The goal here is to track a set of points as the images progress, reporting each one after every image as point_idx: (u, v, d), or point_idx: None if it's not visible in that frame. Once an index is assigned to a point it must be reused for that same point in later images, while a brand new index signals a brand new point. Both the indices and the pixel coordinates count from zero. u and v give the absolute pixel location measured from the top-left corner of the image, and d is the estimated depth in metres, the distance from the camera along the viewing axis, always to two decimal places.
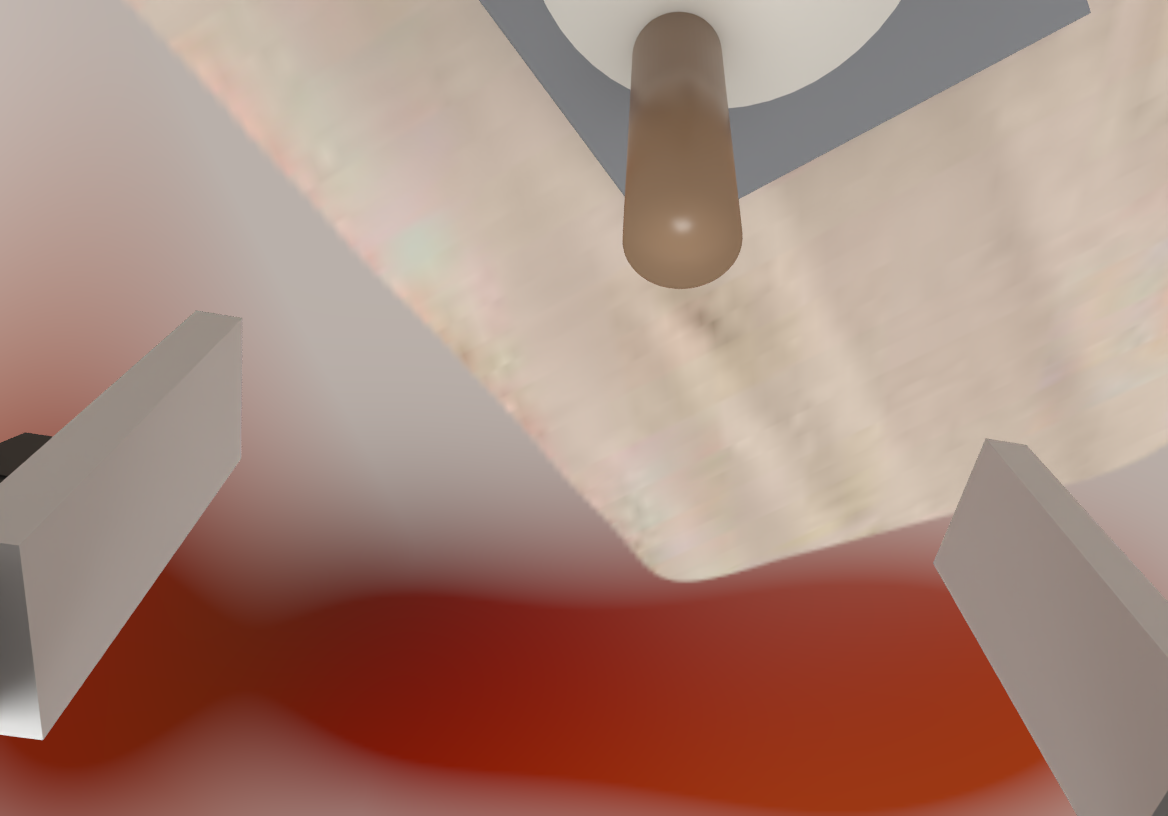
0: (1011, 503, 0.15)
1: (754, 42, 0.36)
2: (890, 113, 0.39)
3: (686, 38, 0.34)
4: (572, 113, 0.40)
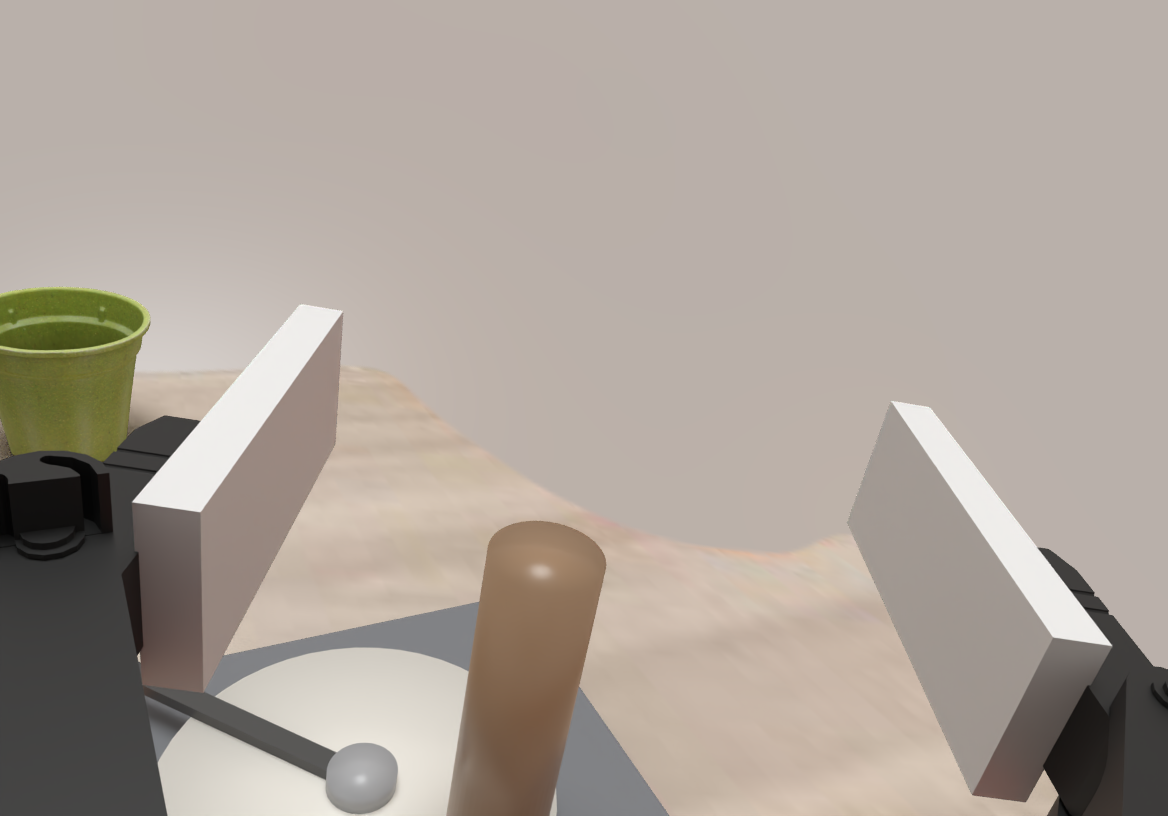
0: (908, 459, 0.15)
1: None
2: (585, 702, 0.42)
3: None
4: None
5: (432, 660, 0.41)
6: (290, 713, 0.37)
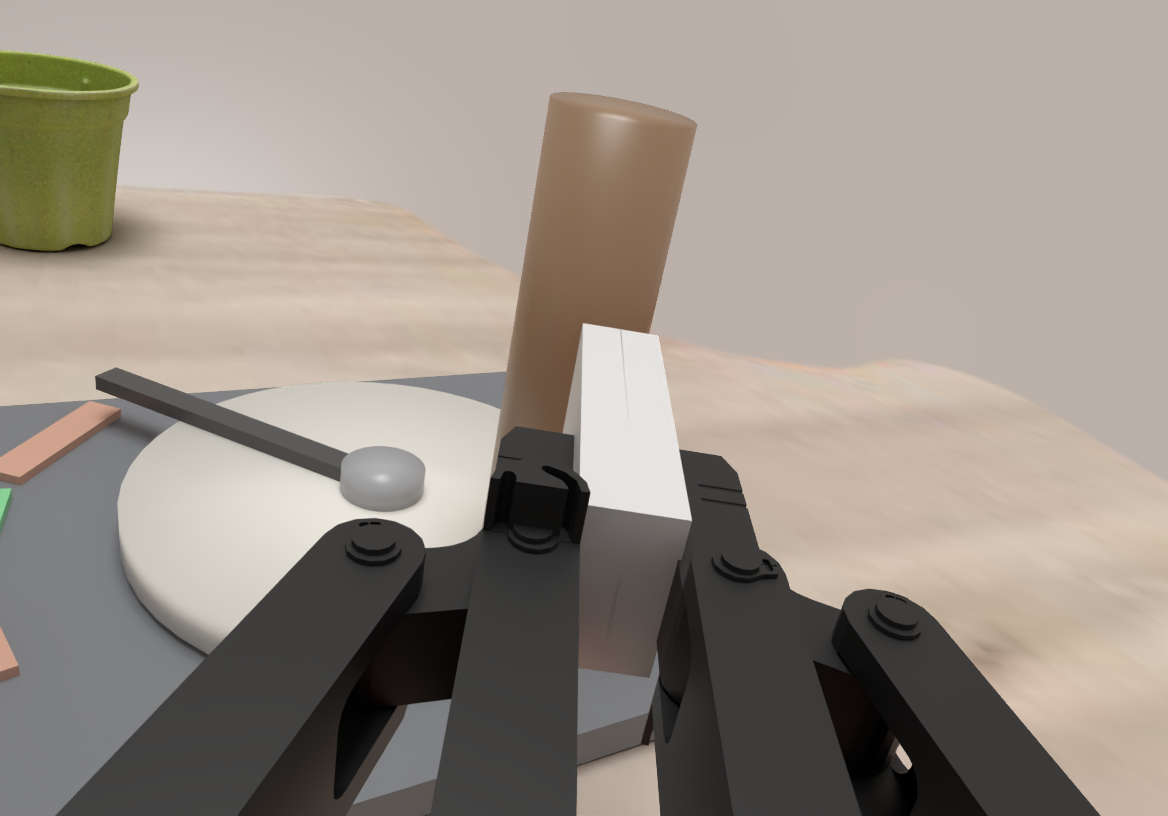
0: None
1: None
2: None
3: None
4: (628, 707, 0.24)
5: (460, 398, 0.35)
6: (297, 426, 0.31)
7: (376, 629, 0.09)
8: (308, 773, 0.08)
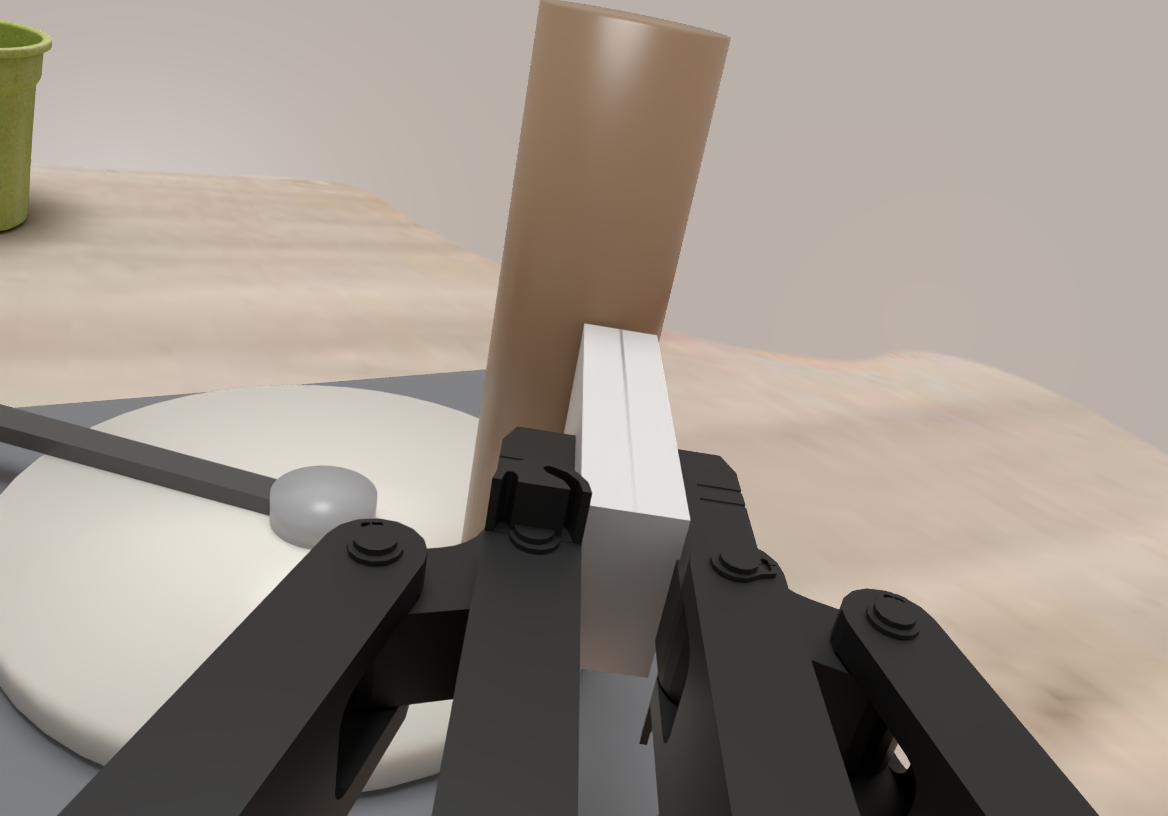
0: None
1: None
2: None
3: (470, 480, 0.21)
4: (638, 805, 0.19)
5: (394, 397, 0.30)
6: (201, 448, 0.25)
7: (377, 629, 0.09)
8: (309, 773, 0.08)
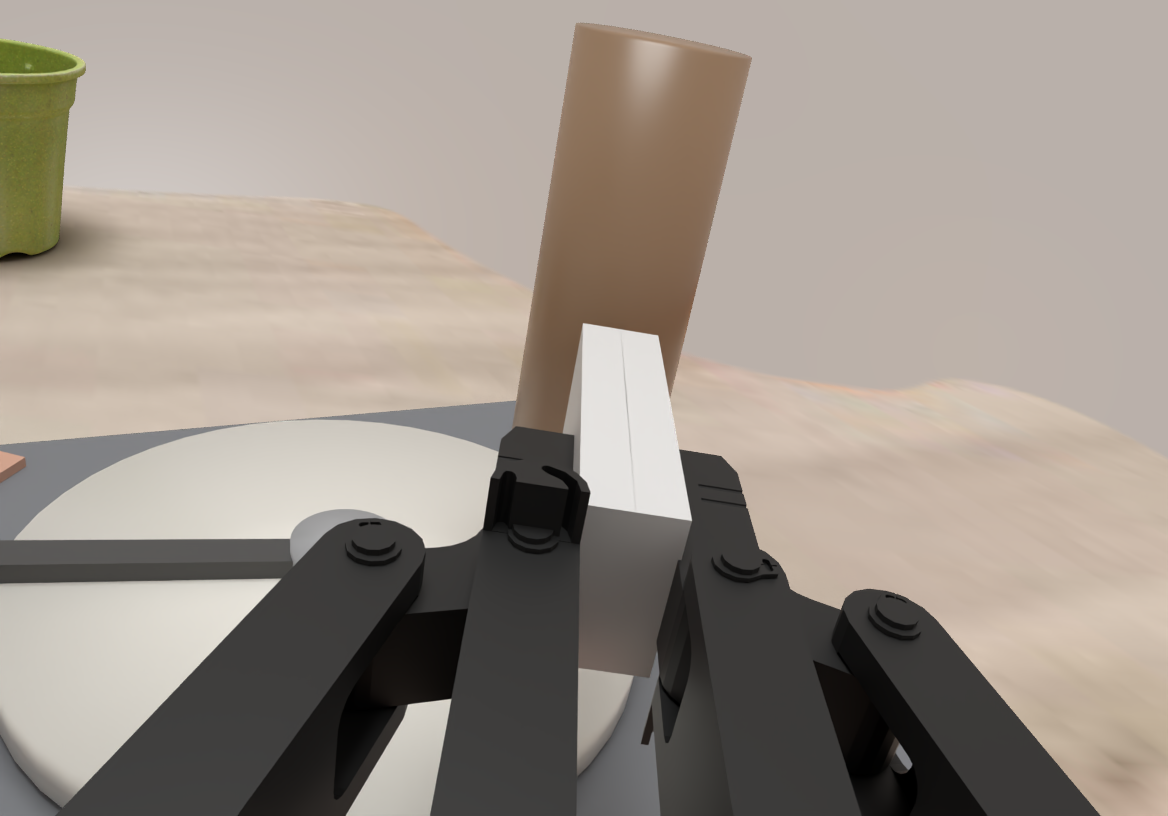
0: None
1: None
2: None
3: None
4: None
5: (307, 423, 0.28)
6: (160, 529, 0.22)
7: (376, 629, 0.09)
8: (308, 773, 0.08)
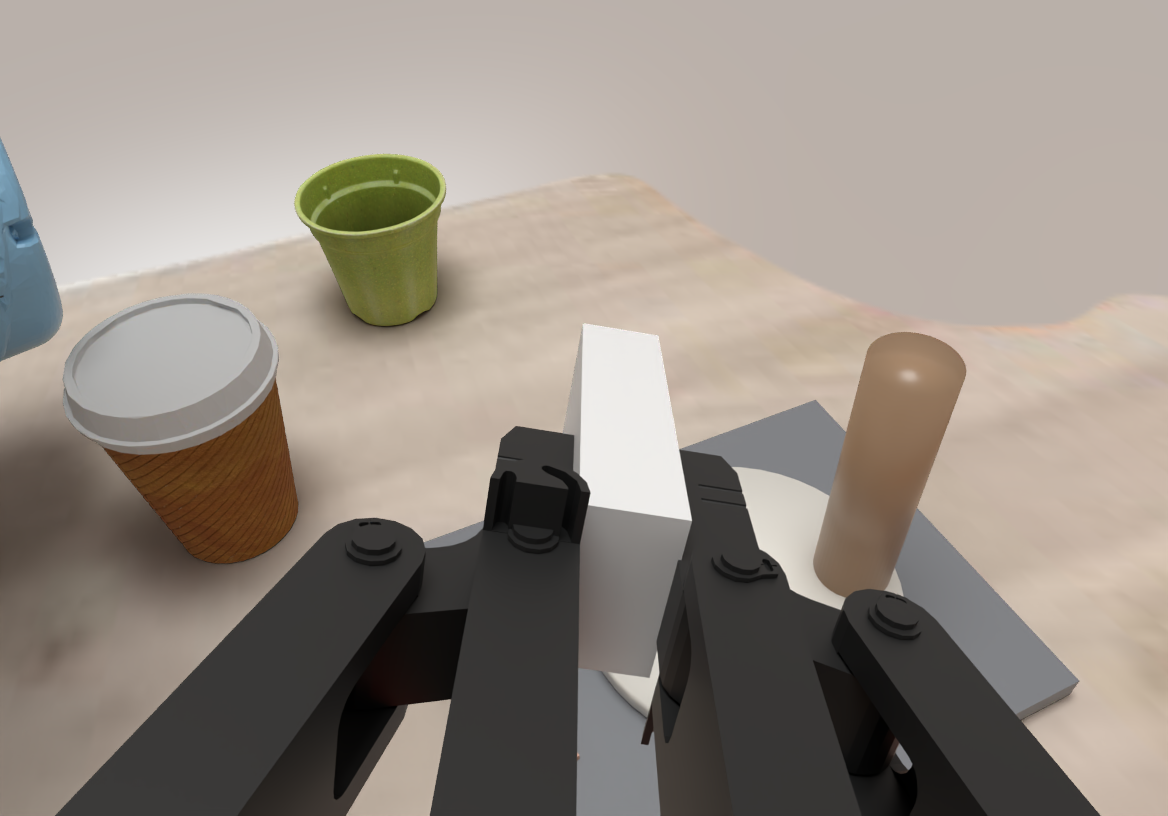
0: None
1: (802, 527, 0.45)
2: None
3: (827, 546, 0.41)
4: None
5: None
6: None
7: (376, 629, 0.09)
8: (308, 773, 0.08)
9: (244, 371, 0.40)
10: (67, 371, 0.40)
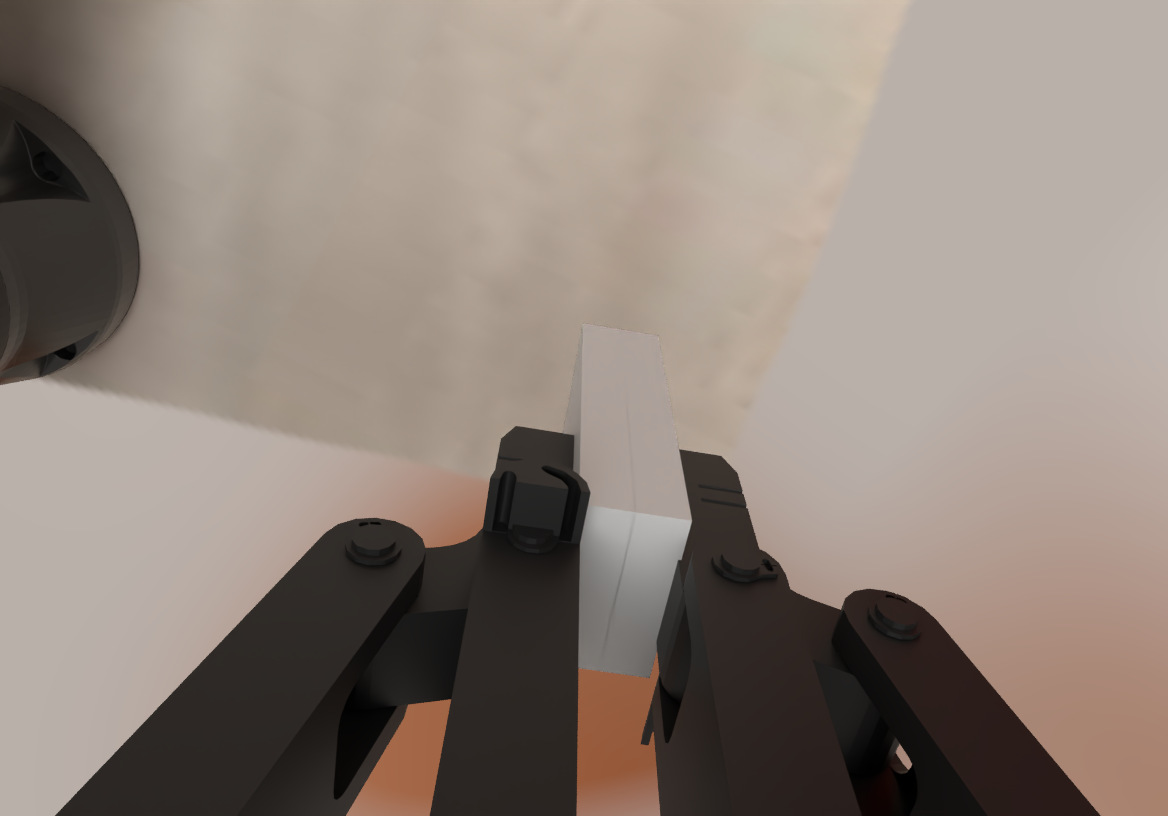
0: None
1: None
2: None
3: None
4: None
5: None
6: None
7: (376, 629, 0.09)
8: (308, 773, 0.08)
9: None
10: None
